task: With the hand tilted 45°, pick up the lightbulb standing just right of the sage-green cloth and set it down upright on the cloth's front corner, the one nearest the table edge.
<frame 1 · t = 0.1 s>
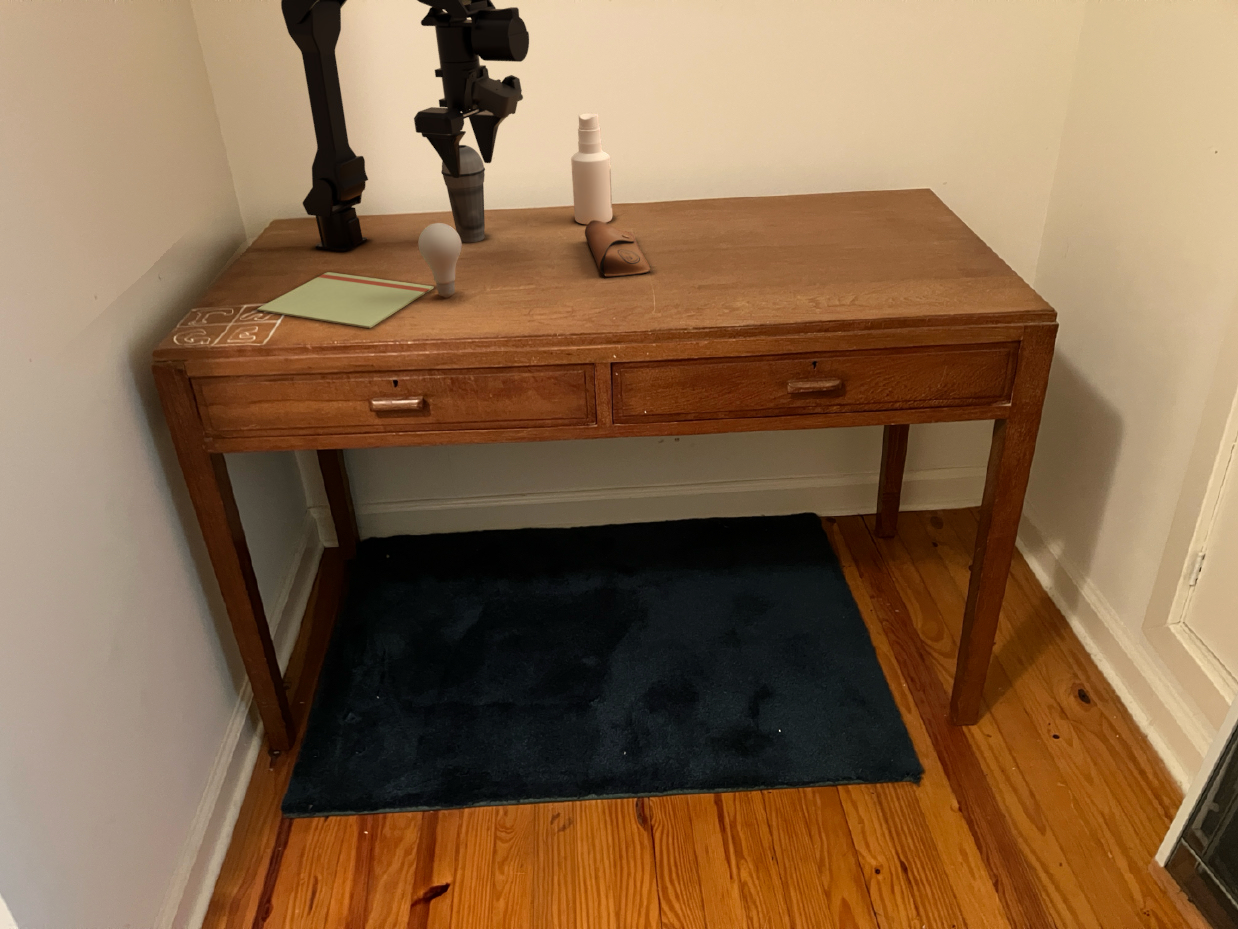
hand: (472, 170, 140), 15 cm above the table, tool pointing down, fingers open, 9 cm apart
cloth: (347, 299, 136), on the table
sunglasses case: (617, 257, 148), on the table
spray bottle: (593, 220, 165), on the table
beverage cup: (471, 239, 158), on the table
lightbulb: (447, 298, 135), on the table
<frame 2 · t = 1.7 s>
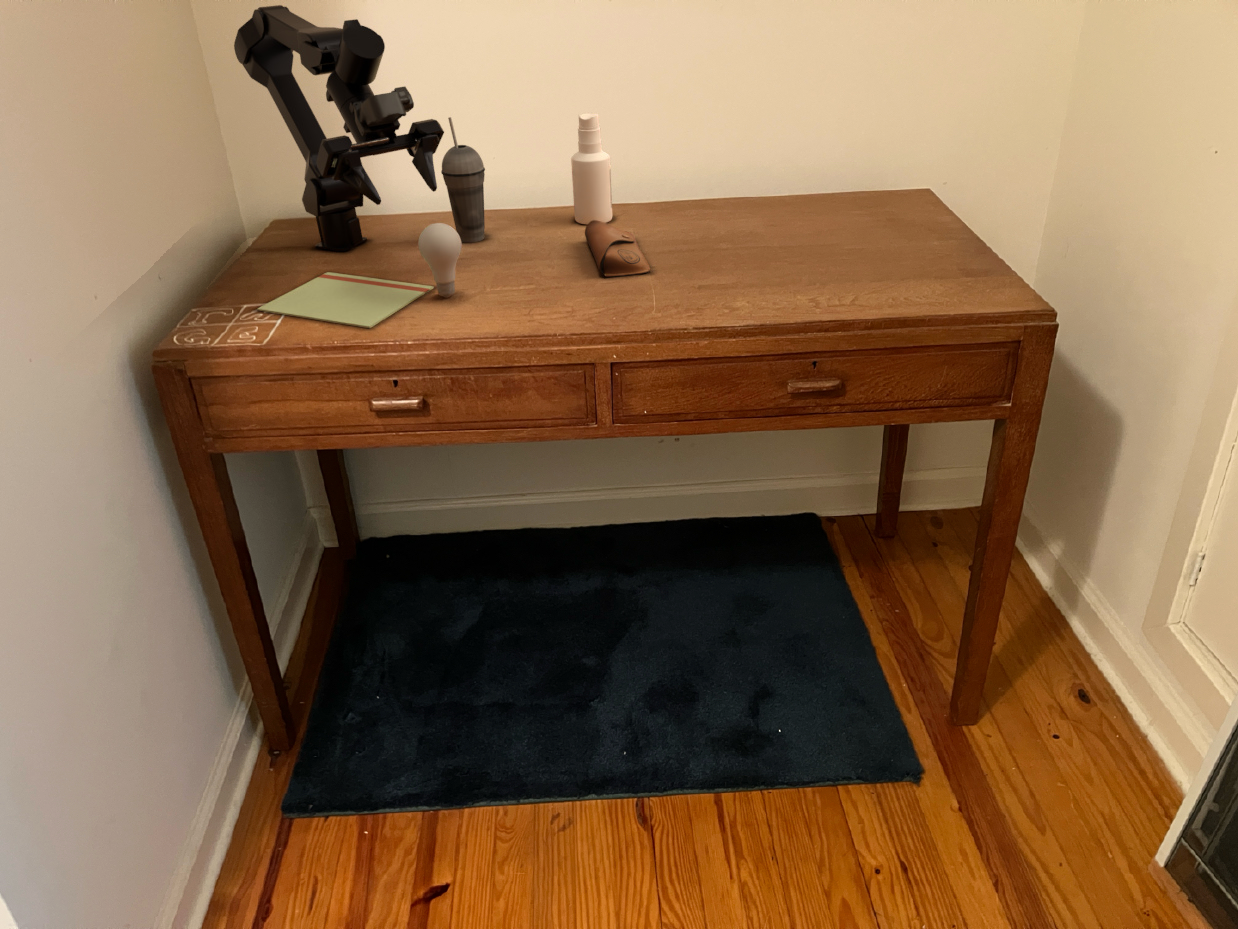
hand: (407, 196, 133), 13 cm above the table, tool tilted 45°, fingers open, 9 cm apart
nothing on the table moved.
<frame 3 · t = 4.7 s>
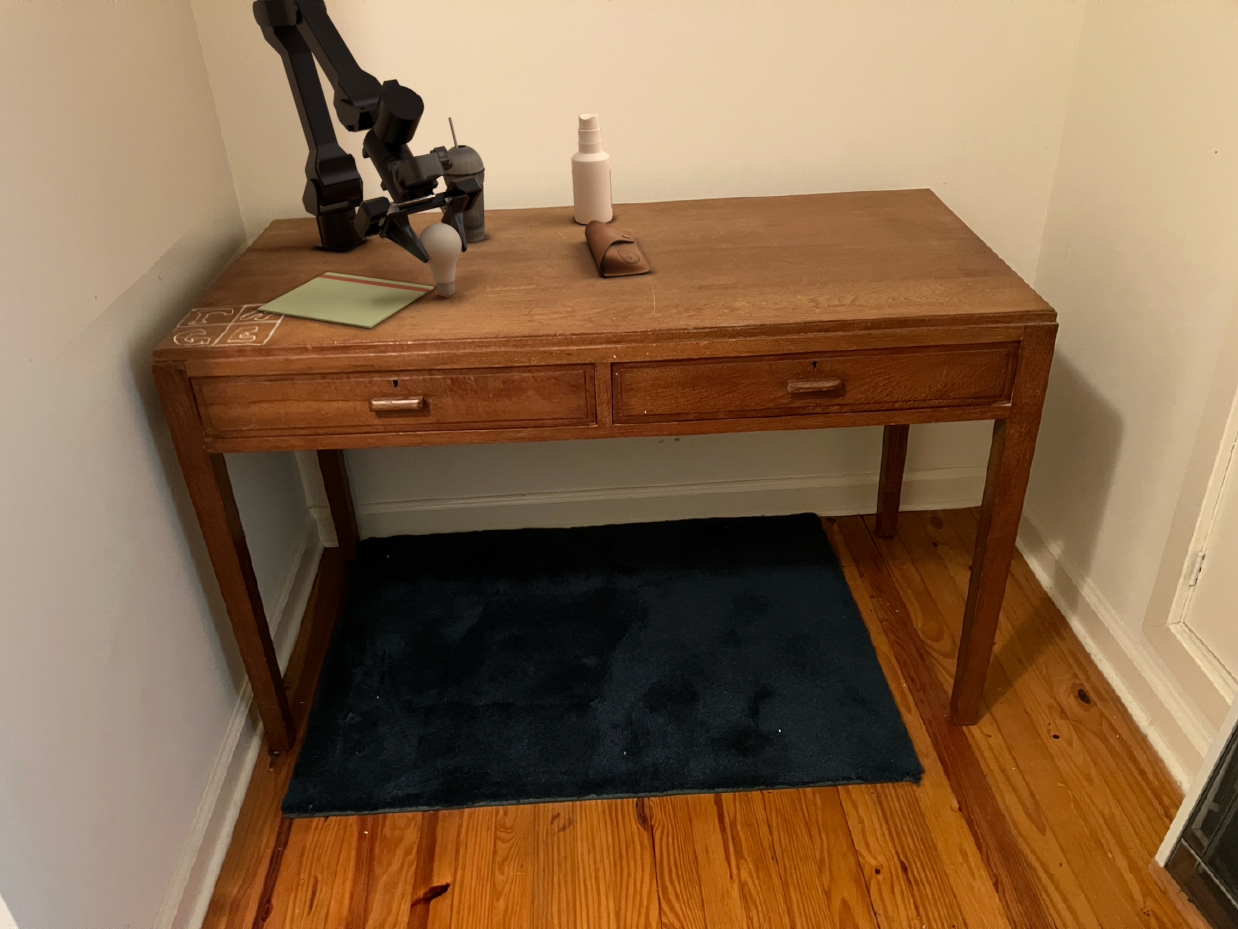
hand: (446, 256, 131), 7 cm above the table, tool tilted 45°, fingers closed on lightbulb, 6 cm apart
lightbulb: (447, 298, 135), on the table, touching gripper
everything else where it was.
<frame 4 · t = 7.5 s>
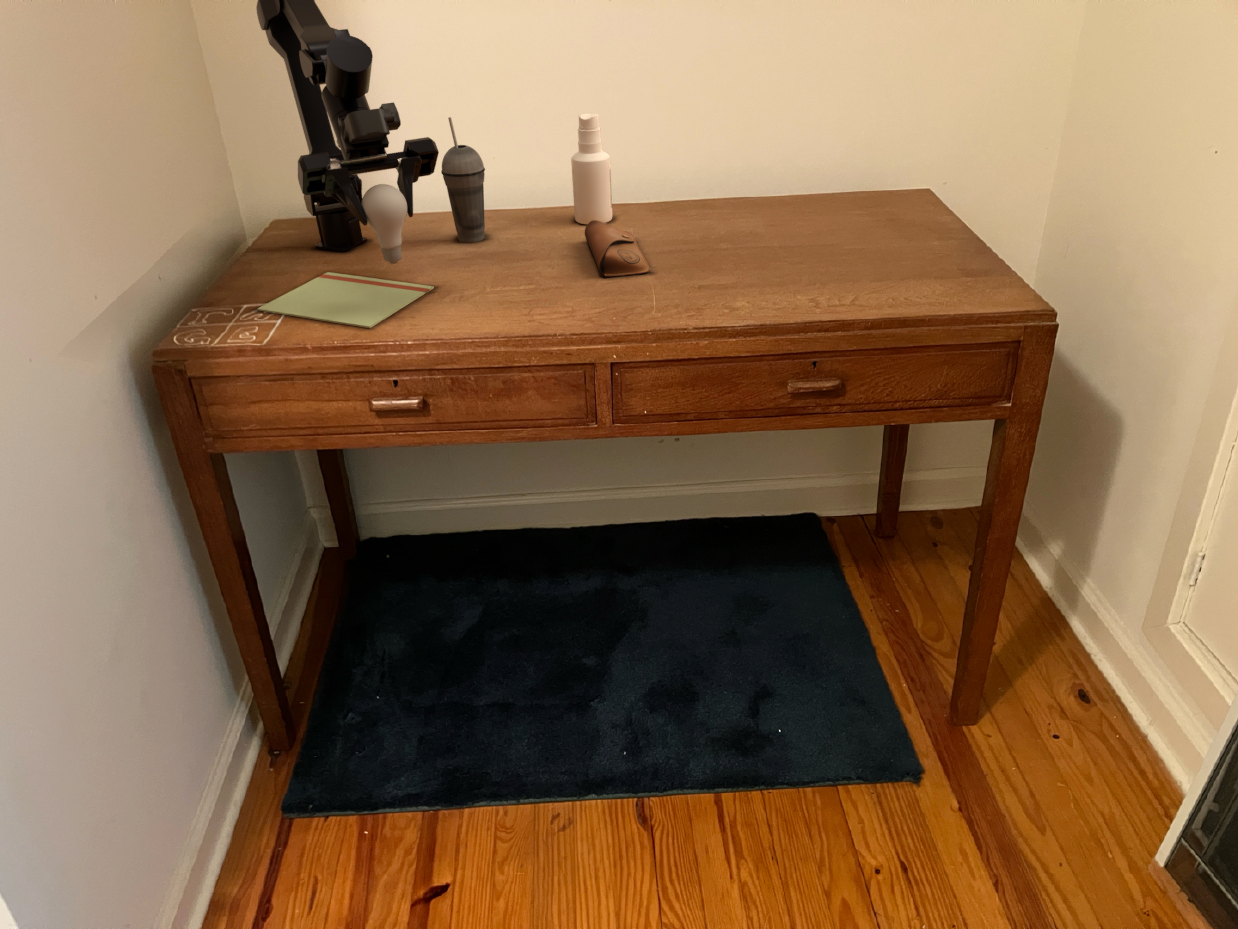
hand: (388, 219, 124), 13 cm above the table, tool tilted 45°, fingers closed on lightbulb, 6 cm apart
lightbulb: (394, 264, 129), point 6 cm above the table, touching gripper
everything else where it was.
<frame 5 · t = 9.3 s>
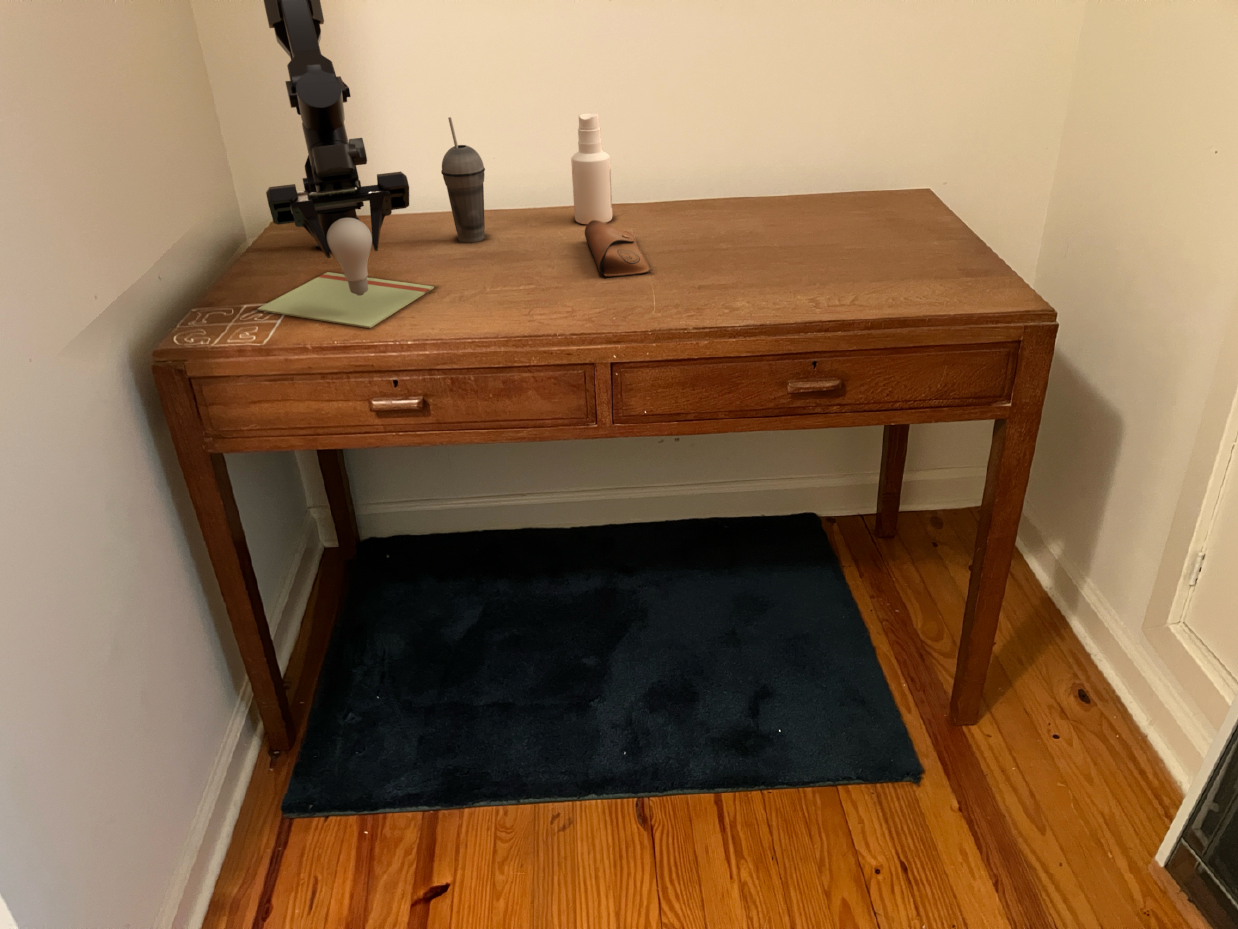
hand: (352, 253, 125), 9 cm above the table, tool tilted 45°, fingers closed on lightbulb, 6 cm apart
lightbulb: (360, 296, 130), point 3 cm above the table, touching gripper
everything else where it was.
when the fingers open (7 cm above the table, at t = 10.6 s): lightbulb stays where it is, resting on cloth.
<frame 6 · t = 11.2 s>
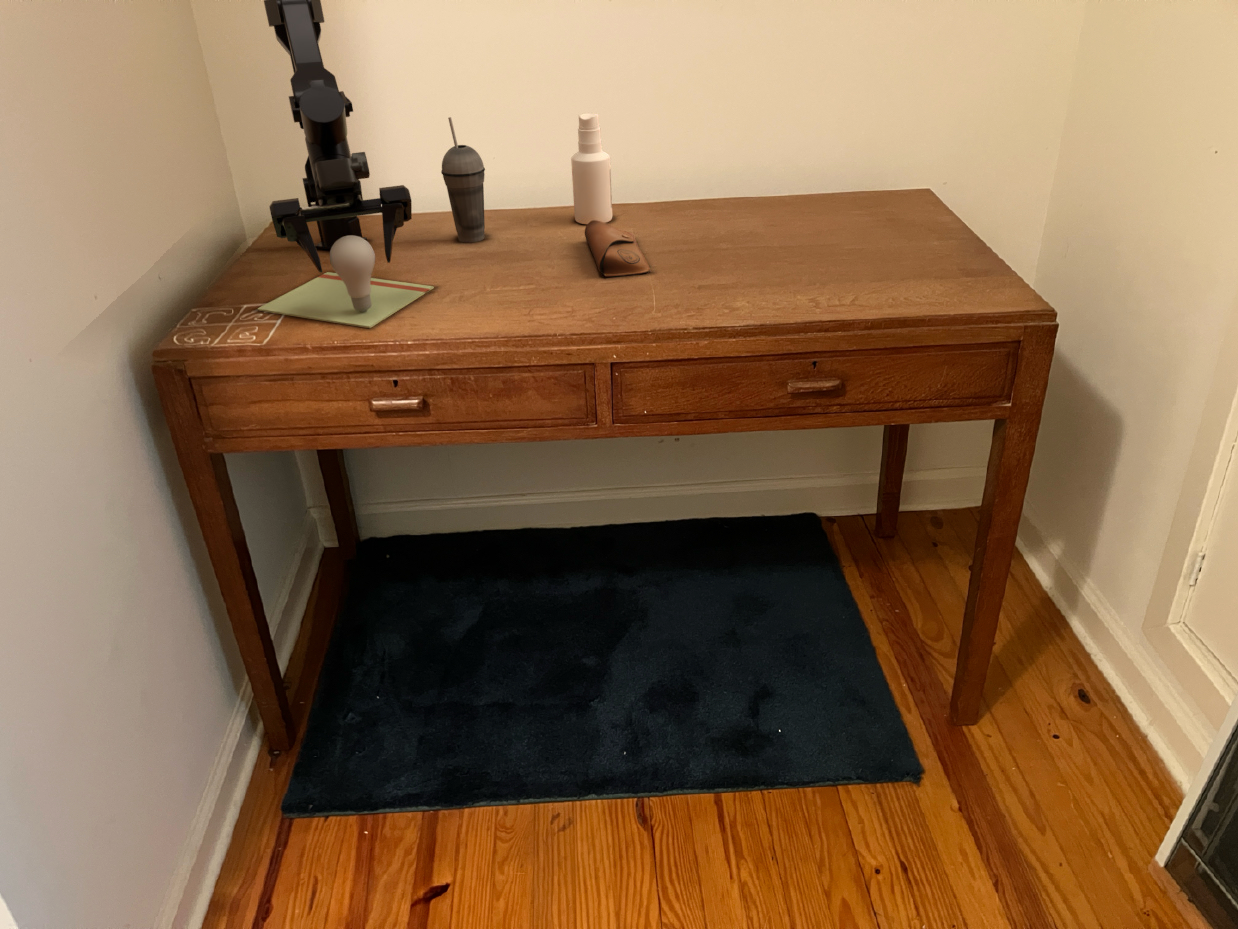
hand: (355, 266, 126), 8 cm above the table, tool tilted 45°, fingers open, 9 cm apart
lightbulb: (363, 312, 131), resting on cloth
everything else where it was.
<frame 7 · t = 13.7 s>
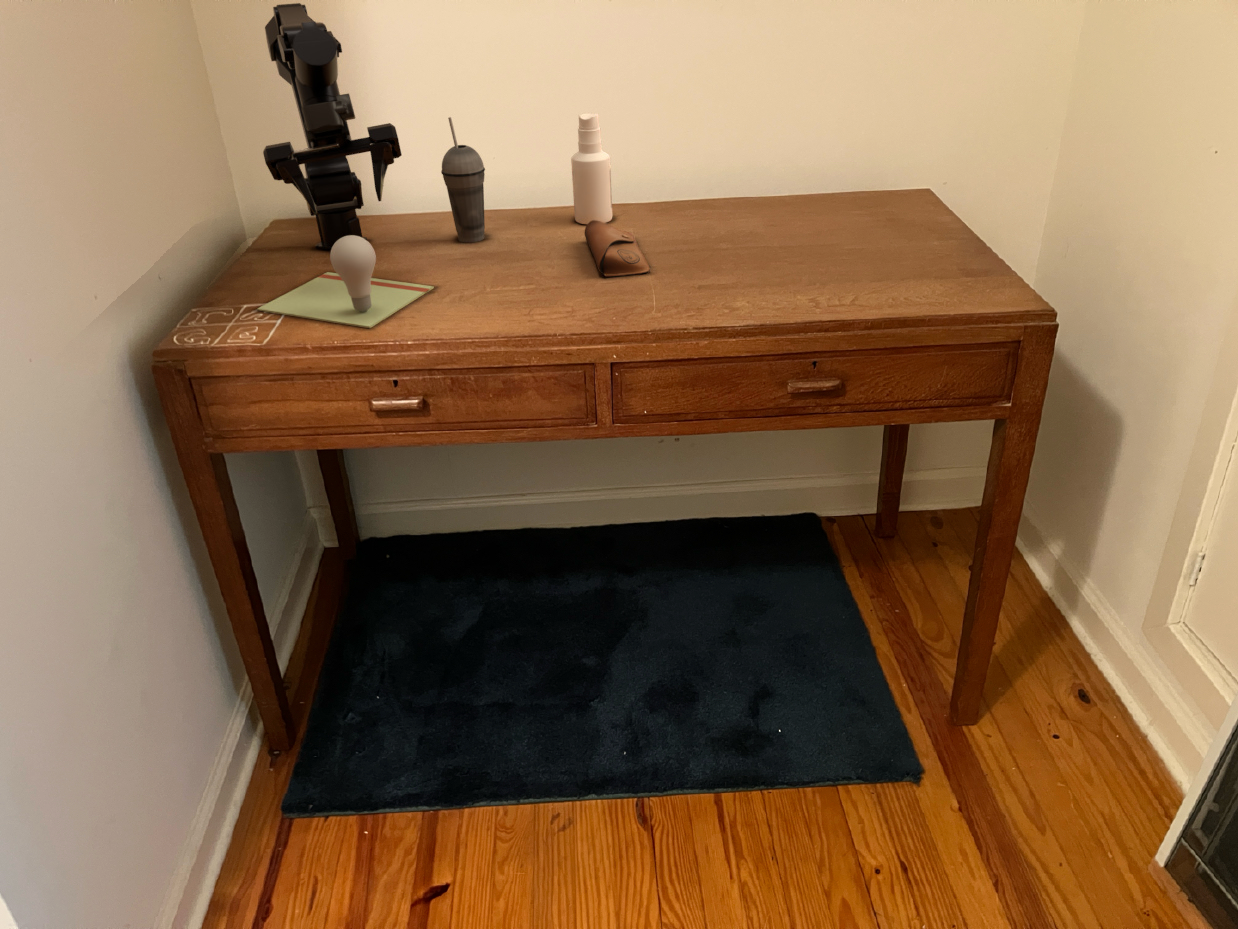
hand: (347, 206, 131), 13 cm above the table, tool tilted 40°, fingers open, 9 cm apart
nothing on the table moved.
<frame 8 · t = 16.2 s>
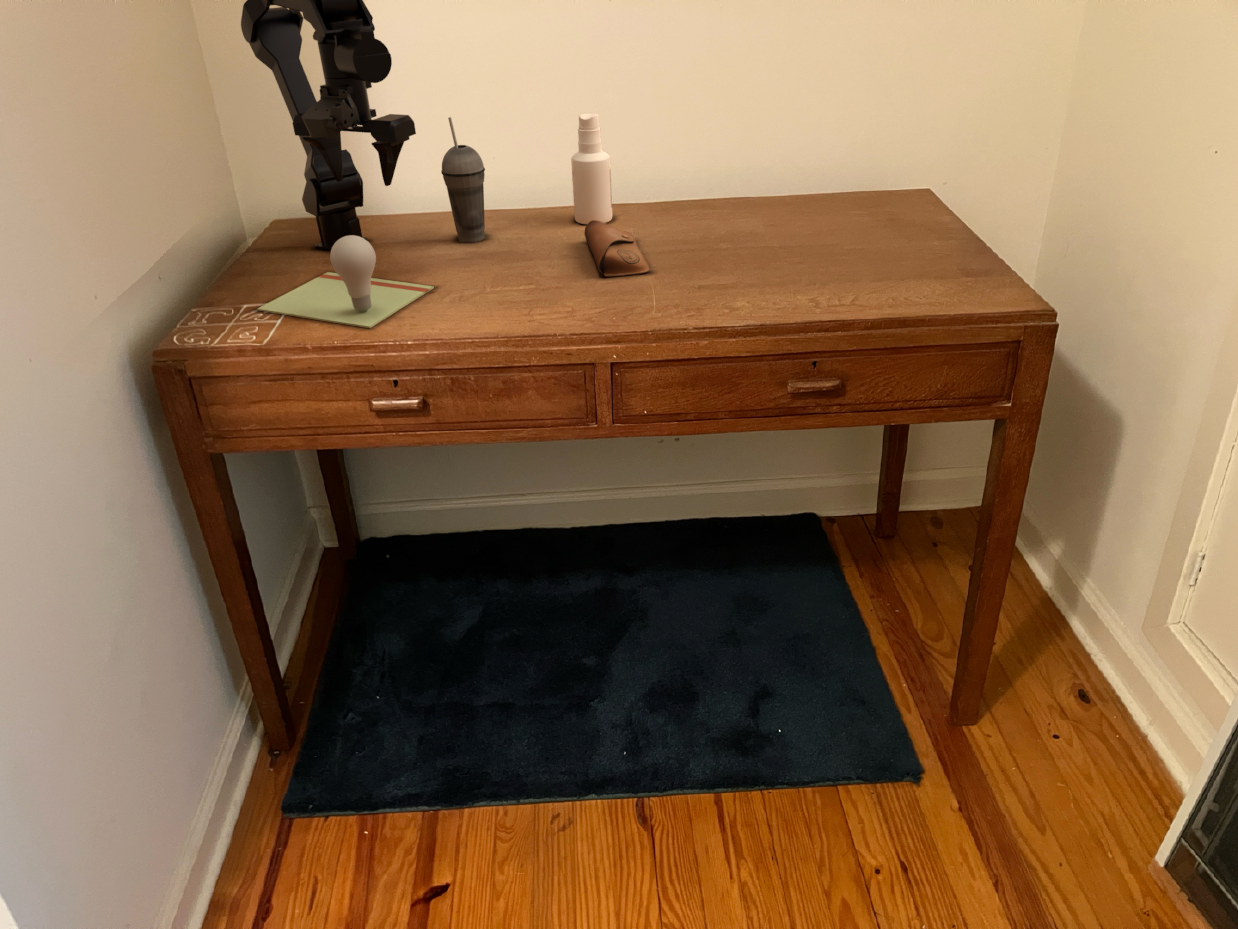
hand: (363, 183, 142), 13 cm above the table, tool pointing down, fingers open, 9 cm apart
nothing on the table moved.
at the end: lightbulb inside the target area on the cloth (0.9 cm from its centre), point 0.1 cm above the cloth's base; lightbulb tilted 0°; lightbulb touching cloth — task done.
